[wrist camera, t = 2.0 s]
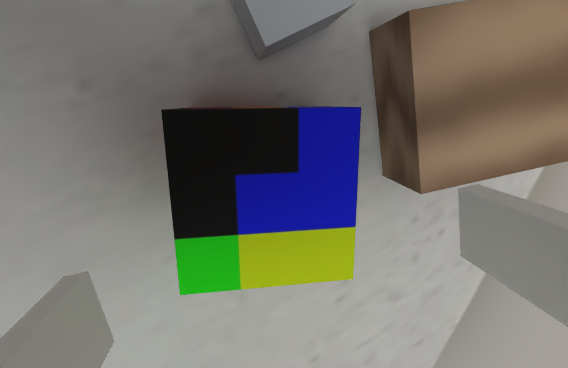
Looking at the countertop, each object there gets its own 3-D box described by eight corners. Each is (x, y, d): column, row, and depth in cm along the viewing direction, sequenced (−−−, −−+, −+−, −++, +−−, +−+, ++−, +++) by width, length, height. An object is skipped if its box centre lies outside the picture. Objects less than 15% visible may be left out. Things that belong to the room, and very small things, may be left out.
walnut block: (369, 31, 25) (409, 10, 20) (506, 8, 27) (580, -18, 21) (383, 175, 29) (421, 193, 23) (504, 149, 30) (569, 160, 24)
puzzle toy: (314, 106, 26) (361, 107, 17) (313, 220, 29) (352, 279, 19) (189, 107, 25) (161, 109, 15) (199, 227, 27) (180, 294, 18)
